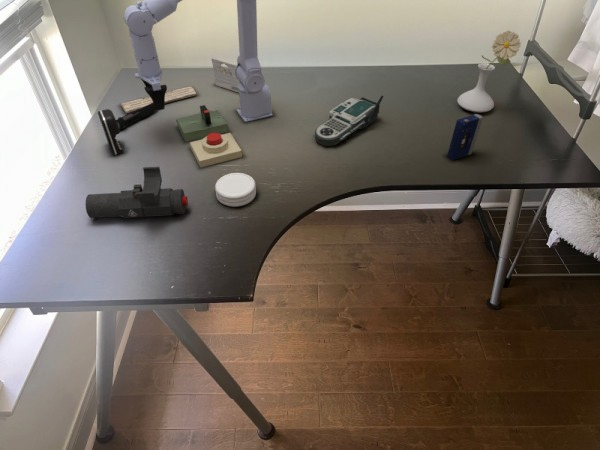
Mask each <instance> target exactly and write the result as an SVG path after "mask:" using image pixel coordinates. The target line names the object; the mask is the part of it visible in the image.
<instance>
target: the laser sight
mask: <svg viewBox="0 0 600 450" xmlns="http://www.w3.org/2000/svg"><path fill="white" fill-rule="evenodd" d="M142 170H143V178H144V179H143V185H142V184H141V183H140V184H133V188H132V189H129V190H120V192H110V193H90V194H87V195H86V197H85V211H86V214H87V216H88V218H90V219H95V218H113V217H115V218H116V217H122V218H123V219H124V218H125V219H127V218H145V217H146V218H147V217H165V216H175V214H178V215H179V214H181V215H183V214H185V212H186V207H188V205H189V199H188V195H185V191H184V189H183V188H178V189H176V188H175V189H173V188H171V187H170V188H169V187H168V188H161V187H162V183H163V179H162V173H161V169H160V166H144V167H142Z"/></svg>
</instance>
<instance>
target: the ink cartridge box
mask: <svg viewBox="0 0 600 450" xmlns="http://www.w3.org/2000/svg"><path fill="white" fill-rule="evenodd" d="M211 64H212V69H213V78H214V85H215V86H217V87H220V88H223V89H227V90H229V91H233V92H235V93H238V94H239V88H238V86H239V80H238V79H237V77H236V76H235V68H236V66H237V64H233V63H230V62H227V61H222V60H220V59H219V60H218V59H215V58H211ZM223 65H225V66H226V67H225V66H223Z"/></svg>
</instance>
